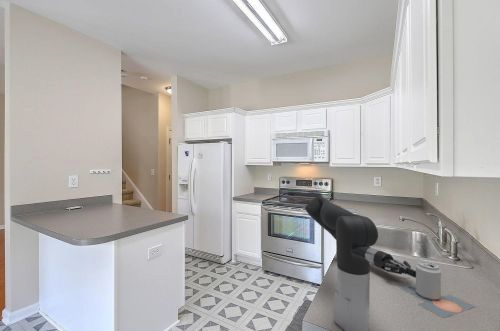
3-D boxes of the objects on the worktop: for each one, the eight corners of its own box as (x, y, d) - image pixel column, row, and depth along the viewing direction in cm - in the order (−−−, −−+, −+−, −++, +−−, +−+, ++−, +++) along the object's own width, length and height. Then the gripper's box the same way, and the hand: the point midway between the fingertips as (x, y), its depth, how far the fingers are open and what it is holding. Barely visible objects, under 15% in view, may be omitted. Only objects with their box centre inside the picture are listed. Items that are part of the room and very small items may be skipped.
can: (445, 302, 83) (446, 269, 83) (422, 300, 84) (423, 267, 84) (432, 291, 91) (432, 260, 91) (411, 289, 92) (411, 259, 92)
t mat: (443, 319, 75) (443, 317, 75) (391, 290, 91) (391, 289, 91) (475, 307, 81) (475, 306, 81) (421, 282, 98) (421, 282, 98)
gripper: (367, 252, 105) (405, 268, 89) (388, 248, 109) (428, 263, 93) (367, 268, 105) (405, 287, 88) (388, 264, 109) (428, 281, 93)
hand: (417, 274), depth 91 cm, fingers closed
